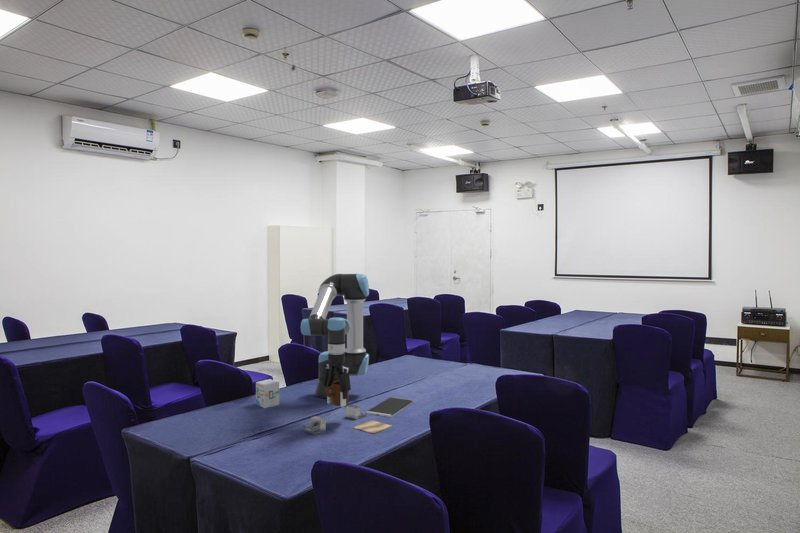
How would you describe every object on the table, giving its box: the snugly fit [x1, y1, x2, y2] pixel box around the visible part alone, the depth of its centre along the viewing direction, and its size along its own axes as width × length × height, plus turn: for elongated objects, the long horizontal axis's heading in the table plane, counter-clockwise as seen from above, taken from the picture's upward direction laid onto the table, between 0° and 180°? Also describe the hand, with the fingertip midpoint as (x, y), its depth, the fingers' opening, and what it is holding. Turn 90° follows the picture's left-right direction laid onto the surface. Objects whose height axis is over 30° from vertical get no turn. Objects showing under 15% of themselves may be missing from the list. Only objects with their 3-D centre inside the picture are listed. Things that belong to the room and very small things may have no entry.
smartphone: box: [365, 396, 414, 418], centre depth 246 cm, size 13×27×2 cm, turn 155°
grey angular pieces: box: [302, 404, 367, 436], centre depth 221 cm, size 7×33×5 cm, turn 142°
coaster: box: [352, 419, 393, 435], centre depth 217 cm, size 12×12×1 cm
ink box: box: [255, 378, 280, 409], centre depth 250 cm, size 8×8×12 cm
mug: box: [326, 381, 350, 407], centre depth 222 cm, size 12×8×9 cm, turn 138°
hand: (336, 404), depth 222 cm, fingers closed on mug, 7 cm apart
